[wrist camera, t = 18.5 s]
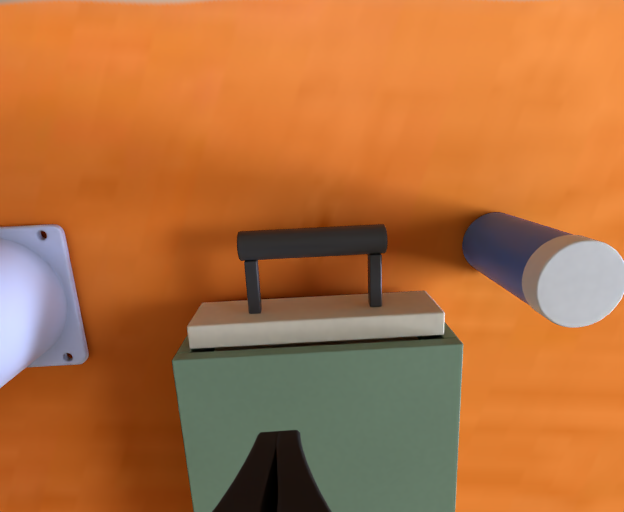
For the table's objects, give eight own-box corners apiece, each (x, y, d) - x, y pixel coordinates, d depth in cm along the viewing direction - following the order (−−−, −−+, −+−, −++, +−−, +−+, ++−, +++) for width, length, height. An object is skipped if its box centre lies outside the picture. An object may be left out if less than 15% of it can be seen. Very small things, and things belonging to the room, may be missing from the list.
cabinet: (197, 317, 23) (171, 360, 19) (431, 305, 24) (463, 343, 19) (222, 522, 27) (206, 601, 22) (425, 509, 27) (451, 584, 23)
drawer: (192, 227, 21) (174, 240, 18) (427, 215, 22) (448, 226, 18) (226, 504, 26) (215, 552, 23) (420, 492, 26) (437, 538, 23)
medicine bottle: (459, 274, 23) (532, 330, 16) (462, 212, 22) (540, 242, 15) (521, 271, 23) (620, 325, 16) (526, 209, 22) (634, 237, 15)
